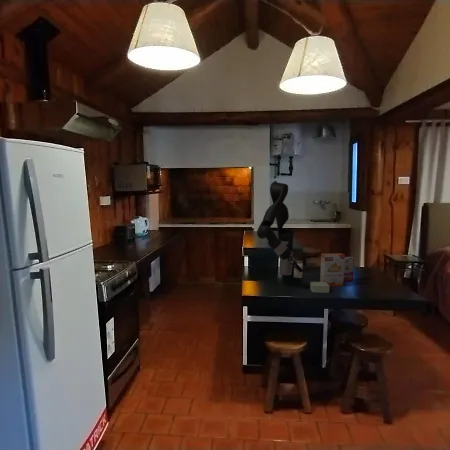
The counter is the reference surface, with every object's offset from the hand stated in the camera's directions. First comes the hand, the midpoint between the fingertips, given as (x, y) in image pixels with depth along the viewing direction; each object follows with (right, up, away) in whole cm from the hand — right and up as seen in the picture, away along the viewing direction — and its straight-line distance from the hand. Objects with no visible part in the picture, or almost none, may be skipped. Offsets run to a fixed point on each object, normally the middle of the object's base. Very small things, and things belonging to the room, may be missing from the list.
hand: (301, 270), depth 241 cm
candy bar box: (+33, -10, +22) cm, 41 cm away
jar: (-2, -4, +1) cm, 5 cm away
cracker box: (+22, -11, +10) cm, 26 cm away
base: (+11, -12, -2) cm, 17 cm away
